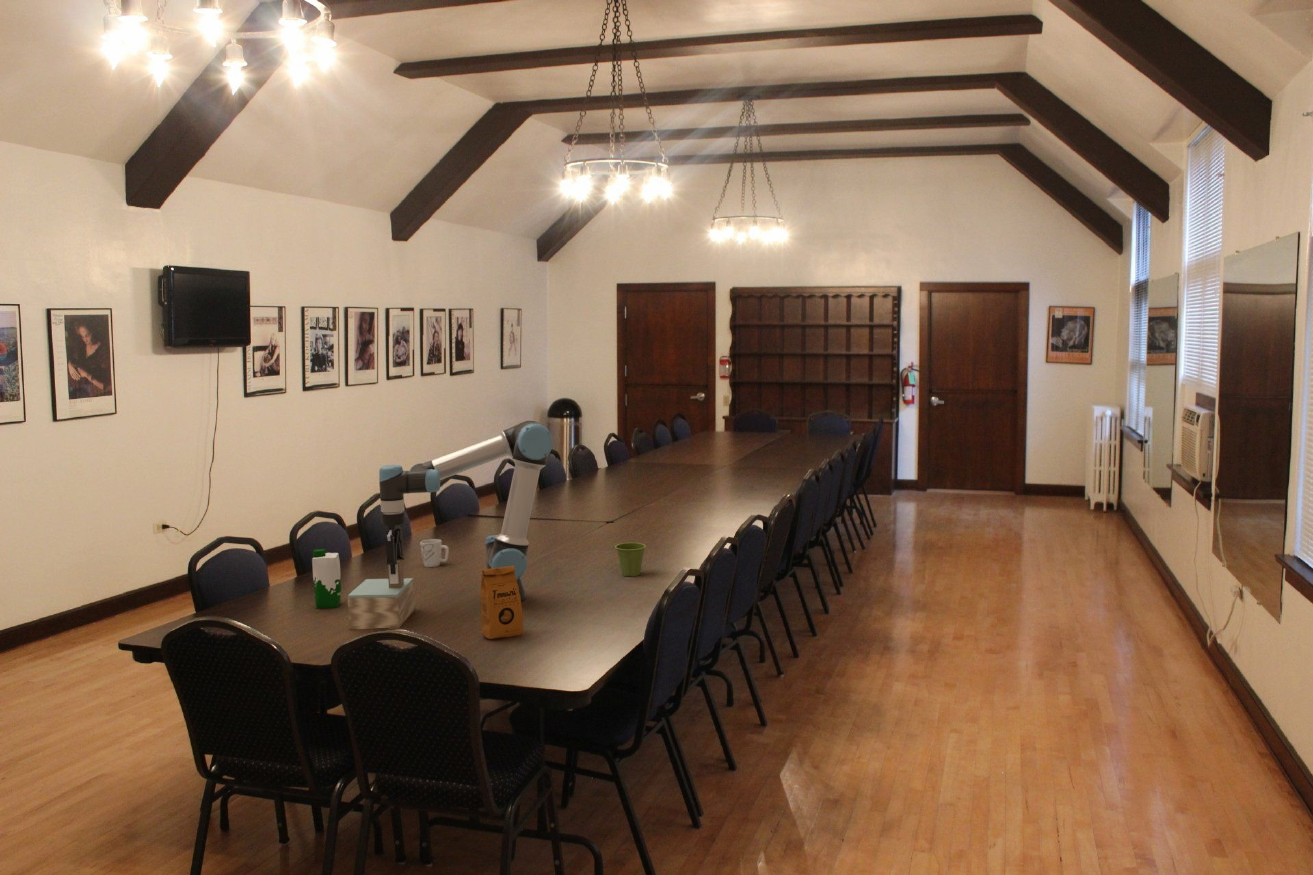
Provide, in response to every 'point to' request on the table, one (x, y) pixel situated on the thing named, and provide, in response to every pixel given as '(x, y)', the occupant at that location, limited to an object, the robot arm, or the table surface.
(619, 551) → the plant pot
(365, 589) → the lid
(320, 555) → the milk carton
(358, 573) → the table surface
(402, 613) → the box
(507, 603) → the coffee package
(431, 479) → the robot arm
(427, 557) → the mug
